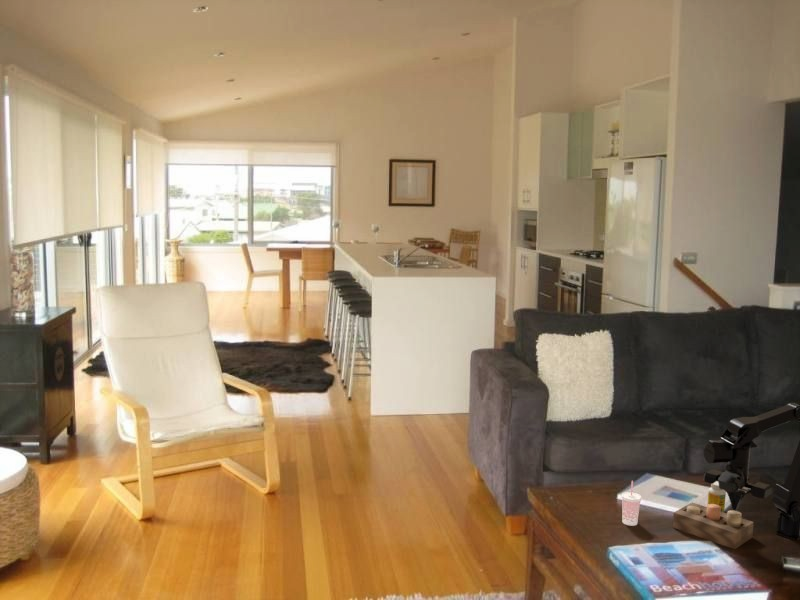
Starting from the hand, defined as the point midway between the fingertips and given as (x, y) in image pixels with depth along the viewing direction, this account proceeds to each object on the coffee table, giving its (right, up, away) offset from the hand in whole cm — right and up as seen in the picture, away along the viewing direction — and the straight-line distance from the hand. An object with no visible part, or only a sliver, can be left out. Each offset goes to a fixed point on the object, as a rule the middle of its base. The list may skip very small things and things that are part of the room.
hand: (734, 510), depth 245 cm
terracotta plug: (-5, -5, +6) cm, 9 cm away
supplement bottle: (+3, -6, +23) cm, 24 cm away
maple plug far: (-9, -7, +11) cm, 16 cm away
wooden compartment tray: (-5, -9, +6) cm, 11 cm away
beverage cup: (-28, -7, +12) cm, 32 cm away
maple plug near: (0, -6, +1) cm, 6 cm away
